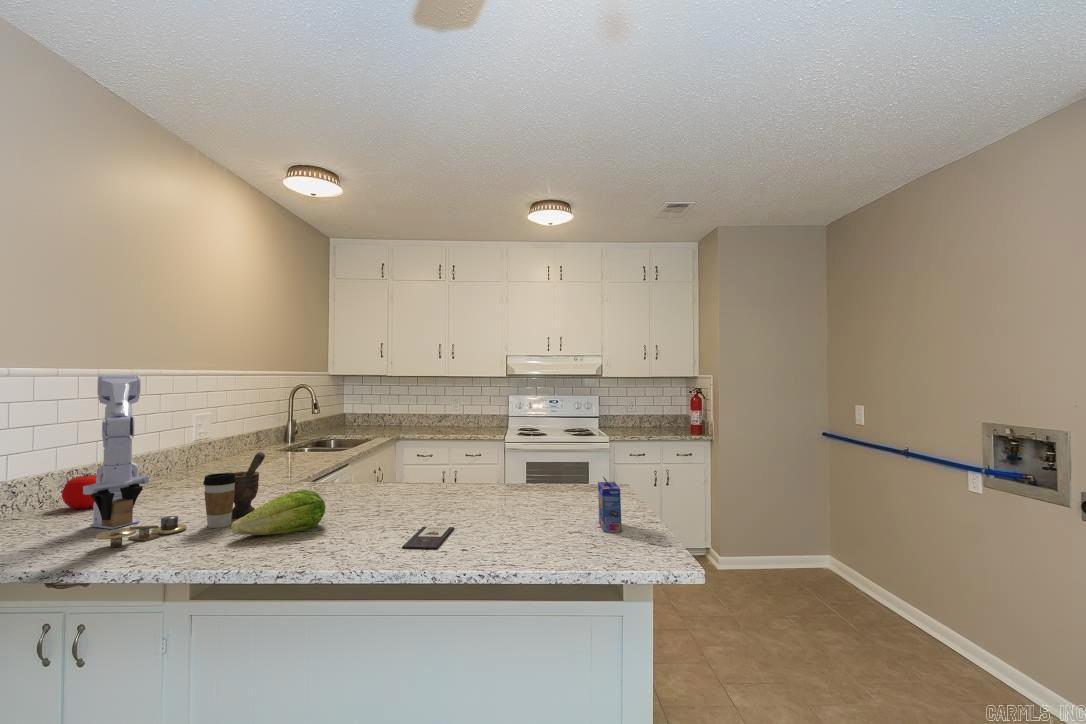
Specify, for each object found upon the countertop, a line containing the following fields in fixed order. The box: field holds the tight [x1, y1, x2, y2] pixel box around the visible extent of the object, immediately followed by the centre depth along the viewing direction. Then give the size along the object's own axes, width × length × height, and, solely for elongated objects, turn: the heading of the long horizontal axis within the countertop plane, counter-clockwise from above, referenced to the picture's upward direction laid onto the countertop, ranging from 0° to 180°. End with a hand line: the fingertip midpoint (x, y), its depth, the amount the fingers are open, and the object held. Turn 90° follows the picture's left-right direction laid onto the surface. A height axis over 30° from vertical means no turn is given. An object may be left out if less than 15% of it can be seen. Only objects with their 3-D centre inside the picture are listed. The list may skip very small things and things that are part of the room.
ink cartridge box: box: [597, 476, 623, 533], centre depth 154 cm, size 10×6×14 cm, turn 2°
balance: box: [95, 515, 187, 549], centre depth 144 cm, size 8×22×4 cm, turn 162°
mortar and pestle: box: [232, 451, 266, 519], centre depth 168 cm, size 12×9×20 cm
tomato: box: [61, 473, 102, 510], centre depth 179 cm, size 12×13×11 cm
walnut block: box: [102, 498, 134, 529], centre depth 137 cm, size 4×4×6 cm
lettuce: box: [230, 489, 326, 536], centre depth 150 cm, size 12×24×13 cm
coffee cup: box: [202, 472, 236, 529], centre depth 157 cm, size 8×8×15 cm
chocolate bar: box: [401, 526, 455, 551], centre depth 144 cm, size 9×1×18 cm
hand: (116, 517), depth 138 cm, fingers closed on walnut block, 4 cm apart
